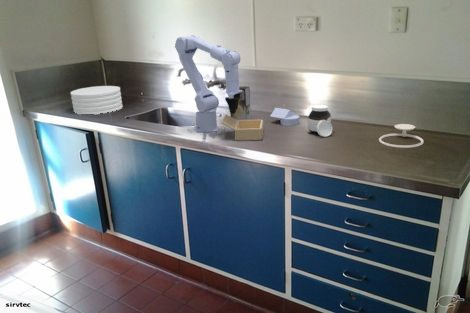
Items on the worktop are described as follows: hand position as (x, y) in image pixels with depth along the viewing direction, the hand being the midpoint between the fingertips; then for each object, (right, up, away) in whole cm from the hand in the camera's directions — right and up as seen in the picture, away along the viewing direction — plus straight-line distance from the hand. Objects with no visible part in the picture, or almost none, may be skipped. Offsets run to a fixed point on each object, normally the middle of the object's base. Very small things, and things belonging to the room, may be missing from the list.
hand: (234, 111), depth 193 cm
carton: (+7, -10, +1) cm, 13 cm away
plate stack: (-81, +8, +67) cm, 106 cm away
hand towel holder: (+68, -14, -16) cm, 71 cm away
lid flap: (-2, -4, -1) cm, 5 cm away
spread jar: (+38, -10, -2) cm, 40 cm away
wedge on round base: (+25, -4, +18) cm, 31 cm away
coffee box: (+3, -1, +30) cm, 30 cm away
